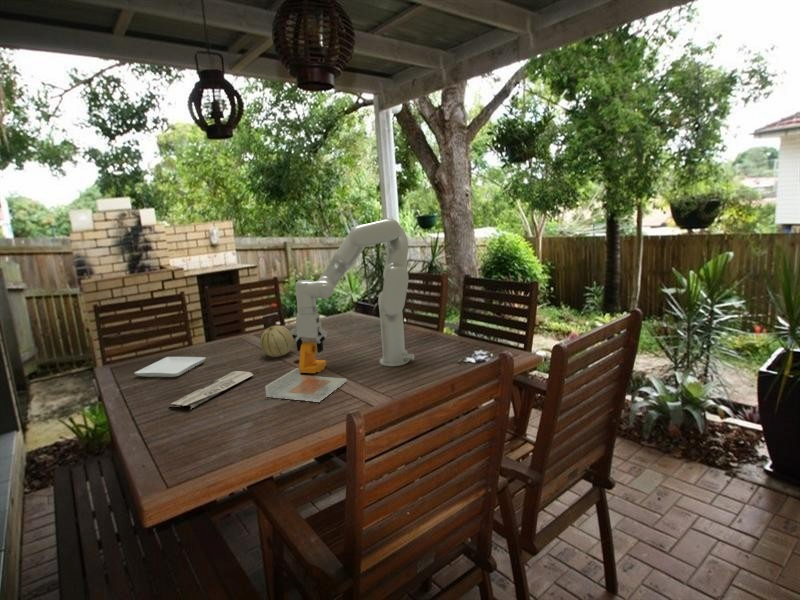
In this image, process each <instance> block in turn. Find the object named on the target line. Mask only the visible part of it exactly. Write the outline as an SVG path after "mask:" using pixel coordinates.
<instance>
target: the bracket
mask: <svg viewBox="0 0 800 600" xmlns="http://www.w3.org/2000/svg"><path fill="white" fill-rule="evenodd" d="M299 352H300V353H299V361H298V363H299V364H298V368H300V374H301V373H305V374H317V373H316V372H319V373H320V372H322V371H323V370H325V368H326V366H327V360H326V359H325V360H324V359H323V360H322V359H317V358H316V354H317V353H318V352H317V343H316V342H311V341H310V342H309V341H308V342H307V341H306V342H305V341H302V344H301V348H300V351H299ZM321 370H322V371H321Z"/></svg>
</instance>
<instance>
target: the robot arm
mask: <svg viewBox="0 0 800 600" xmlns="http://www.w3.org/2000/svg"><path fill="white" fill-rule="evenodd" d="M383 243H386V244H387V250H386V257H385V258H386V259H385V263H384V264H385V265H384V269H383V273H382V276H383V285H382V286H383V287H382V291H380V293H379V296H378V302H377V303H378V309H379V311H378V312H379V322H380V336H381V347H382V357H381V358H380V359H379V364H380V365H382V366H383V367H384V366H385V367H399V366H404V365H406V364H408V363H409V362H410V360H411V361H412V360H413V361H414V360H415V355H414V353H408V350H407V349H406V348H405V345H406V344H405V331H404V330H405V329H404V316H403V315H404V314H403V310H404V307H405V304H406V303H405V302H406V297H407V292H408V286H409V272H408V270H407V263H408V255H409V241H408V237H407V233H406V232H405V230H404V229H403V228H402V227H401V225H400V223H399V222H398V221H397V220H396V219H393V218H384V219H382V220H378V221H374V222H369V223H363V224H356V225H354V226H353V227H352V228H351V229H350V230H349V233H348V234H347V235H346V237H345V238H344V240H343V241H342V243H341V244H340V246H339V247H338V249H337V250H336V251H335V252H334V254H333V256H332V258H331V260H330V261H329V263H328V265H327V266H326V268H325V269H324V270H323V272H322V273H321V276H320V277H318V279H317V280H316V281H313V279H312V280H311V279H301V280H298V281H295V282H296V283H295V294H296V297H295V298H296V308H297V313H296V317H295V327H294V328H292V329H290V330H289V331H290V333H291V335H292V337H293V340H294V341H295V343H296V351H298V352H300V348H301V344H302V343H303V340H302V338H303V339H315V341H316V342H317V343H316V345H317V352H316V353H319V354H320V353H322V352H324V341H325V340H326V339H327V336H328V335H329V332H328V331H326V330H325V329H323V328H322V321H321V317H320V315H319V311H320V310H319V308H318V307H317V300H316V299H328V298H330V297H331V296H332V295H333V294H334V291H335V290H334V289H335V288H336V287H337V285H338V283H339V281H340V280H341V279H342V277H343V276H344V275H345V273H346V272H348V270H350V269H352V267H353V265H354V264H355V263H356V261H357V260H358V258H359V257H360V256H361V254H362V252H363V251H364V249H365V248H366V247H369V246H374V245H379V244H383Z"/></svg>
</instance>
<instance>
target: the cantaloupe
mask: <svg viewBox="0 0 800 600" xmlns="http://www.w3.org/2000/svg"><path fill="white" fill-rule="evenodd" d="M259 340H260V343H259V344H260V348H261V351H262V352H263V353H264V354H265V355H267V356H269V357H272V358H280V357H283V356H285V355H286V354H288V353H289V352H290V351H291V350H292V348H293V344H294V338H293V337H292V334H291V332H290V330H289V329H288V328H286V327H285V326H283V325H272V326H269V327H268V328H266V329H265V330H264V331H262V333H261V336H260V339H259Z"/></svg>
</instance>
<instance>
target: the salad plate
mask: <svg viewBox="0 0 800 600" xmlns="http://www.w3.org/2000/svg"><path fill="white" fill-rule="evenodd" d="M206 359H207V357H203V356H201V357H200V356H166V357H164V358H161V359H160V360H158V361H155V362H153V363H152V364H149V365H147V366H145V367H142V368H141V369H139V370H136V371H134V375H136V376H140V377H143V378H145V377H148V378H149V377H150V378H176V377H178V376H181V375H183V374H184V373H187V372H188V370H189V371H191V370H193V369H195V368H196V367H198V366H199V365H201V364H202V363H203V362H204V361H205V360H206ZM195 366H196V367H195ZM186 371H187V372H186Z"/></svg>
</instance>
